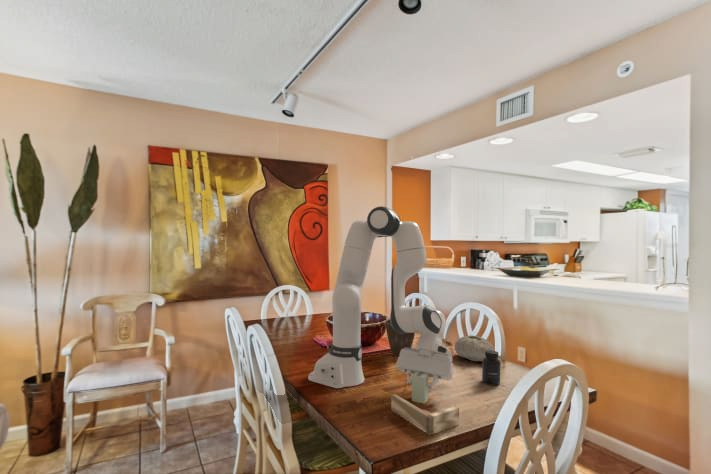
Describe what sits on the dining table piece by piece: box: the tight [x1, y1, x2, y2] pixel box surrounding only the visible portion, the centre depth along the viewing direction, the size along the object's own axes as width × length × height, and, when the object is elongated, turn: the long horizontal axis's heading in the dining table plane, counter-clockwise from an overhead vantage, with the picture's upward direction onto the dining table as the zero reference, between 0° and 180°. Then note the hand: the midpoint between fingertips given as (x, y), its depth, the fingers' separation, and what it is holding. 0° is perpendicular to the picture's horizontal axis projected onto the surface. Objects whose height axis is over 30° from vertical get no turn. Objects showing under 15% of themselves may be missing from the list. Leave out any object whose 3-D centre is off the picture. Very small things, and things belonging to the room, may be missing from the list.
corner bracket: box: [390, 393, 460, 436], centre depth 117 cm, size 12×18×5 cm, turn 32°
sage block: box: [411, 371, 429, 405], centre depth 129 cm, size 4×4×9 cm
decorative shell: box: [454, 334, 495, 362], centre depth 174 cm, size 18×18×10 cm
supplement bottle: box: [481, 350, 502, 386], centre depth 146 cm, size 7×7×12 cm
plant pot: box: [385, 319, 416, 358], centre depth 179 cm, size 15×15×16 cm
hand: (419, 386), depth 129 cm, fingers open, 6 cm apart
